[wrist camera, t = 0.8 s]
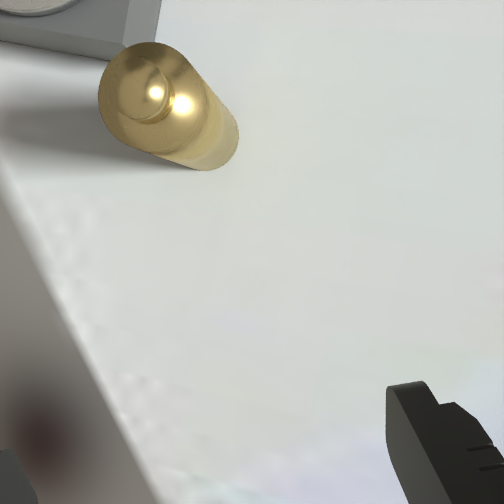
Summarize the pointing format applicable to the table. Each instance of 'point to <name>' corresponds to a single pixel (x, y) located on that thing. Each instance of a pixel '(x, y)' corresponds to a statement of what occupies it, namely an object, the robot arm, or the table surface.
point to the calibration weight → (166, 108)
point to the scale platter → (35, 6)
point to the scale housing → (86, 27)
